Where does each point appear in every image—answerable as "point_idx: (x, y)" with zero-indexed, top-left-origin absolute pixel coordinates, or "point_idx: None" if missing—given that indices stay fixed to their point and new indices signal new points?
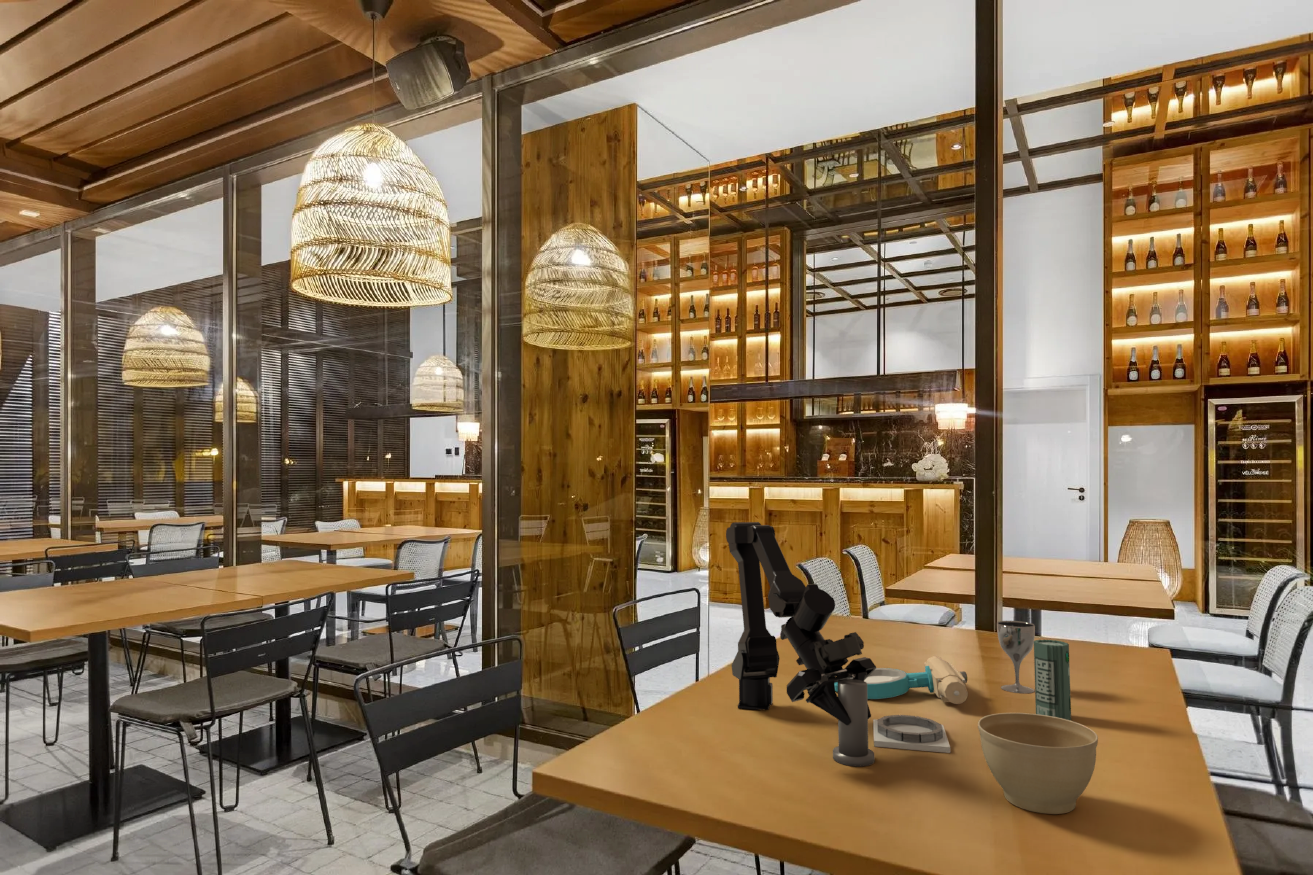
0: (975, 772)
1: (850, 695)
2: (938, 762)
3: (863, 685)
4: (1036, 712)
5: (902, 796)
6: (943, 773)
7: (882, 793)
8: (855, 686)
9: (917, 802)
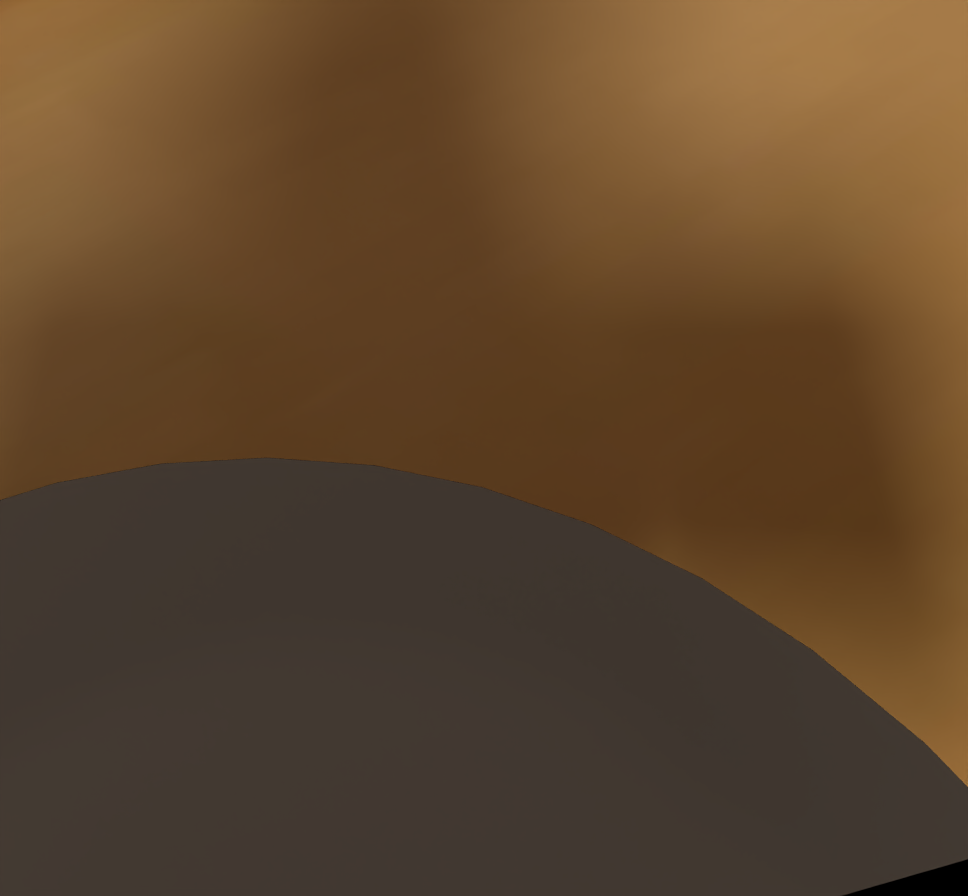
0: (79, 112)
1: (896, 892)
2: (54, 344)
3: (242, 515)
4: None
5: (858, 137)
6: (245, 210)
7: (949, 237)
8: (817, 693)
9: (849, 40)
